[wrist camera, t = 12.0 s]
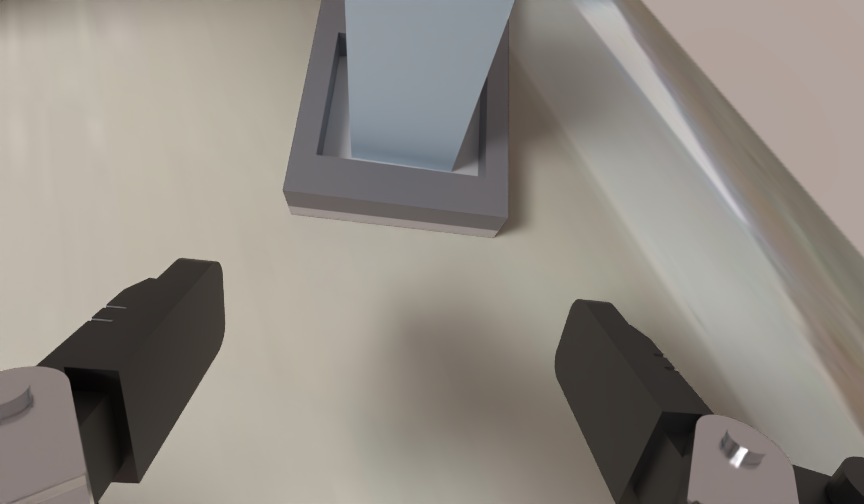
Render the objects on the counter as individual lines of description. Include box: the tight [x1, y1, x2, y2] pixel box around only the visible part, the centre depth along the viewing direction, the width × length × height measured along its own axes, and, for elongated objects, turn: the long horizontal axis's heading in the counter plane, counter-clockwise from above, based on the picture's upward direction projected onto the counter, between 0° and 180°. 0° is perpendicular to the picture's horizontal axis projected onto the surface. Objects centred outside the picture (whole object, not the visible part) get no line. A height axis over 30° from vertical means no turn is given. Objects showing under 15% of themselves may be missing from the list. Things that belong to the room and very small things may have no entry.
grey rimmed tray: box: [283, 0, 509, 238], centre depth 22 cm, size 9×23×3 cm, turn 176°
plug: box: [345, 0, 515, 172], centre depth 15 cm, size 4×4×12 cm
